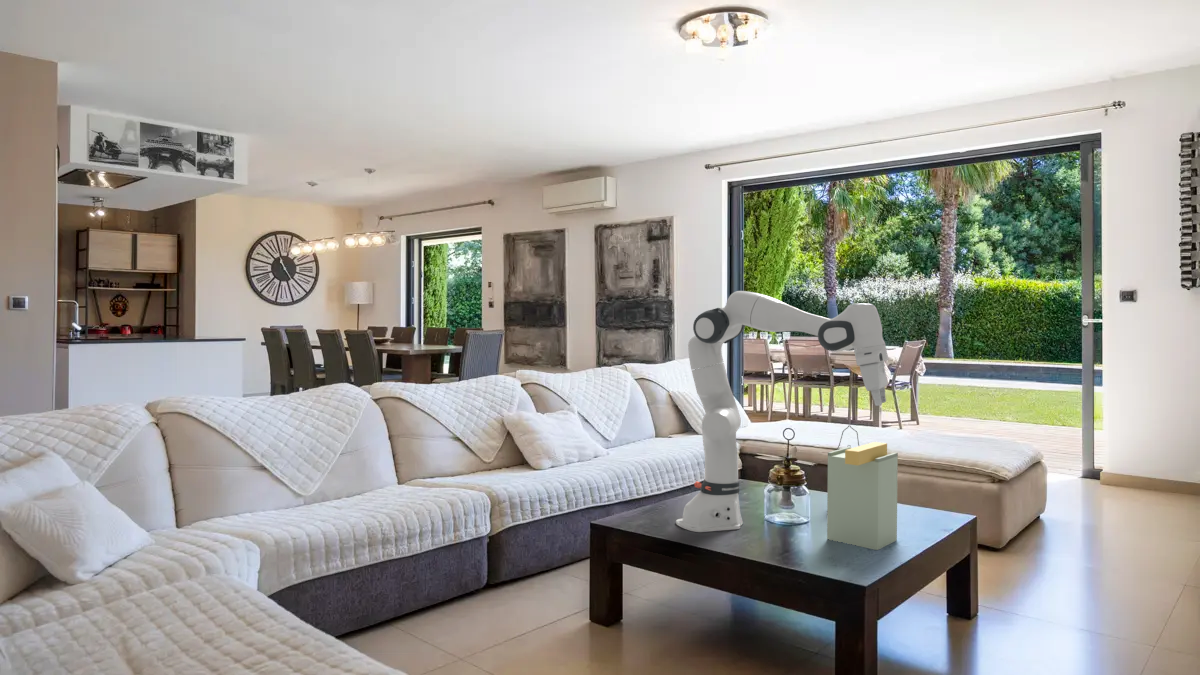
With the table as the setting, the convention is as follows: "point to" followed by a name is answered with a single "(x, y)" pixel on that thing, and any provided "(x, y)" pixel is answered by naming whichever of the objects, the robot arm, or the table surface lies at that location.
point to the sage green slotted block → (862, 501)
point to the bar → (865, 453)
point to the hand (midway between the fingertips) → (880, 404)
